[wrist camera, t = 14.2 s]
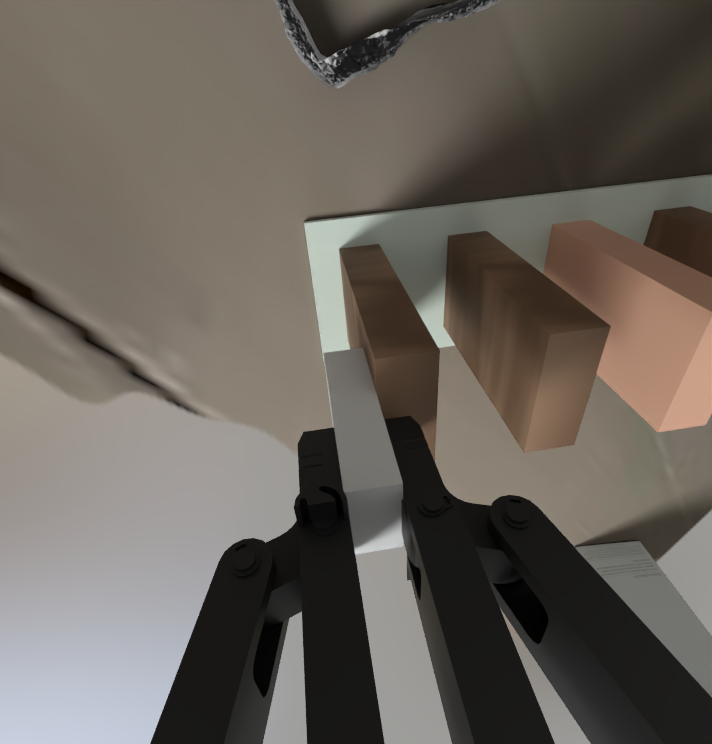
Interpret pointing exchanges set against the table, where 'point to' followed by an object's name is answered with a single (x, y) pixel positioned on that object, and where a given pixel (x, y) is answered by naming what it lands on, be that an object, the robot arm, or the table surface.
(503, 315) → the domino
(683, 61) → the table surface
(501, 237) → the runner
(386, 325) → the domino
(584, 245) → the domino
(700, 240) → the domino
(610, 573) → the supplement box
